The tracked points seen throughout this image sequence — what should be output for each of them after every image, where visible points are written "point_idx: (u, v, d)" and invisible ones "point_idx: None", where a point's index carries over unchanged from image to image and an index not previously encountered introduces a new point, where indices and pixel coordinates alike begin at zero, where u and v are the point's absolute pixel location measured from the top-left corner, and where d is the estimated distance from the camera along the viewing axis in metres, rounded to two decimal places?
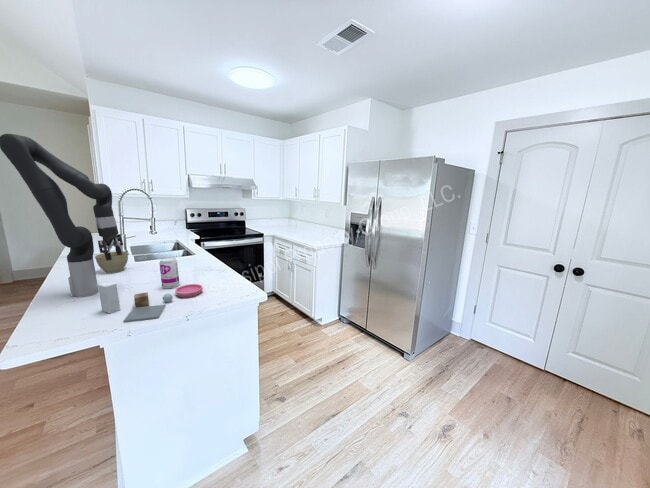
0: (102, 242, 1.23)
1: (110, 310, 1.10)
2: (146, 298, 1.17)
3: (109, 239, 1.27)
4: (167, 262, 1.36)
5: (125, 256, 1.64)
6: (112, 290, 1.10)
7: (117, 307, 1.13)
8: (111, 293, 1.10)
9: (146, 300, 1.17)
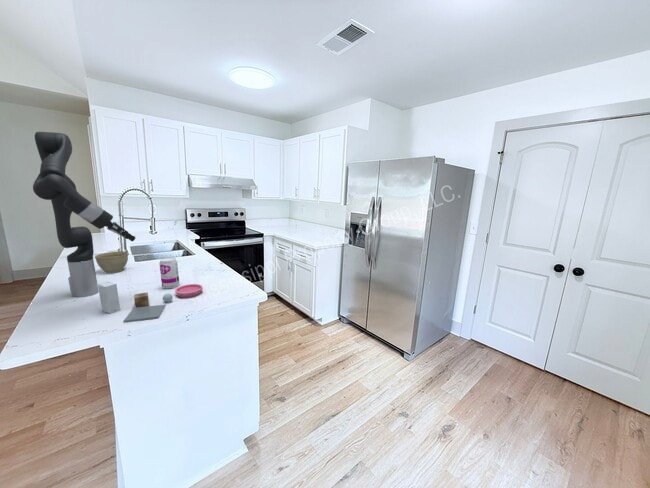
0: None
1: (110, 310, 1.10)
2: (146, 298, 1.17)
3: (107, 226, 1.17)
4: (167, 262, 1.36)
5: (125, 256, 1.64)
6: (112, 290, 1.10)
7: (117, 307, 1.13)
8: (111, 293, 1.10)
9: (146, 300, 1.17)
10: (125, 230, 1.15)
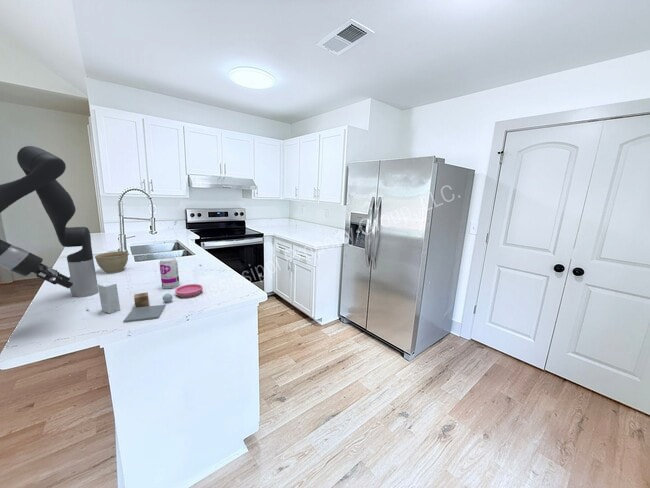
0: None
1: (110, 310, 1.10)
2: (146, 298, 1.17)
3: None
4: (167, 262, 1.36)
5: (125, 256, 1.64)
6: (112, 290, 1.10)
7: (117, 307, 1.13)
8: (111, 293, 1.10)
9: (146, 300, 1.17)
10: (56, 277, 0.94)
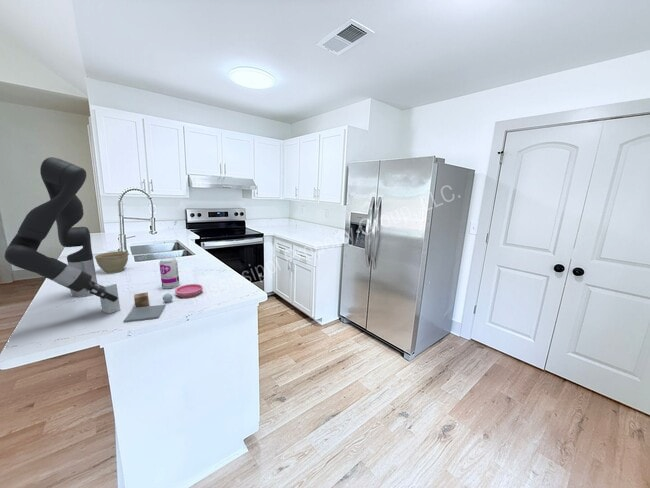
0: None
1: (110, 310, 1.10)
2: (146, 298, 1.17)
3: None
4: (167, 262, 1.36)
5: (125, 256, 1.64)
6: (112, 290, 1.10)
7: (117, 307, 1.13)
8: (111, 293, 1.10)
9: (146, 300, 1.17)
10: (106, 292, 1.06)
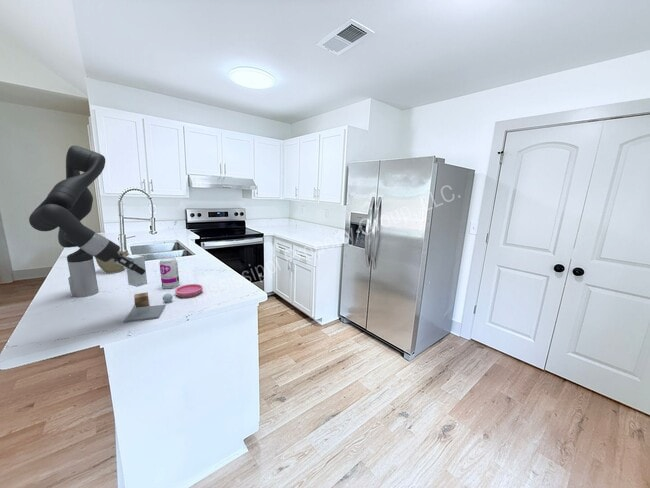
0: None
1: (137, 283, 1.05)
2: (146, 298, 1.17)
3: None
4: (167, 262, 1.36)
5: None
6: (140, 262, 1.05)
7: (144, 281, 1.07)
8: (139, 266, 1.05)
9: (146, 300, 1.17)
10: (134, 264, 1.00)
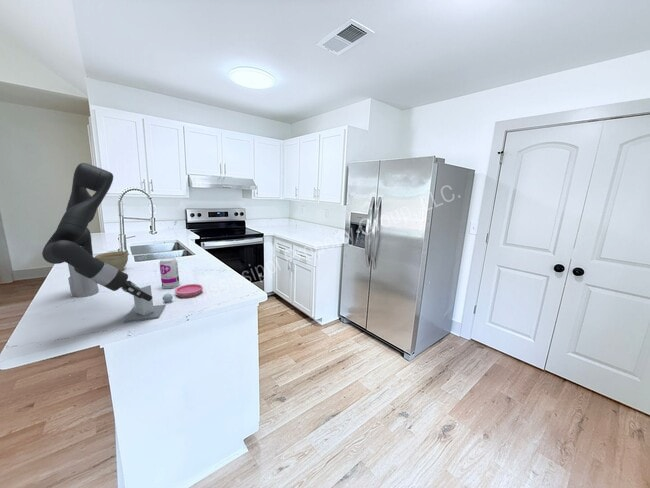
0: None
1: (144, 312, 1.07)
2: None
3: None
4: (167, 262, 1.36)
5: (125, 256, 1.64)
6: (147, 291, 1.08)
7: (151, 309, 1.10)
8: None
9: None
10: (142, 291, 1.02)
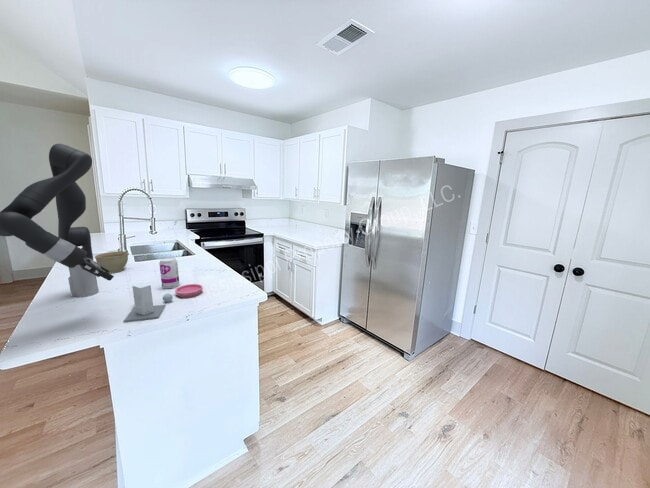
0: None
1: (144, 312, 1.07)
2: None
3: None
4: (167, 262, 1.36)
5: (125, 256, 1.64)
6: (147, 291, 1.08)
7: (151, 309, 1.10)
8: (146, 295, 1.07)
9: None
10: (100, 270, 0.99)
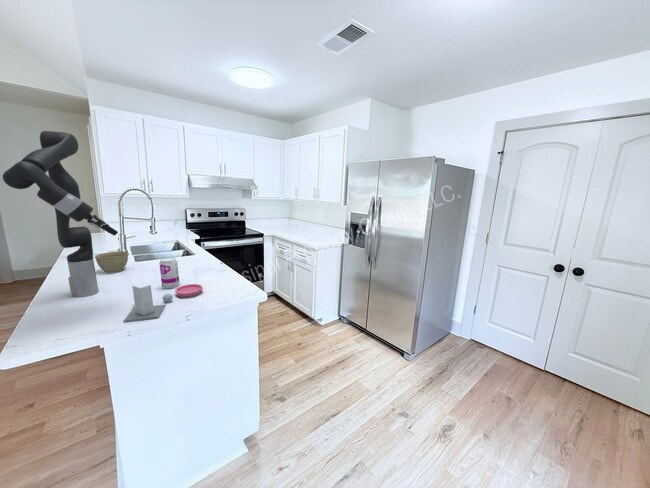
0: None
1: (144, 312, 1.07)
2: None
3: (87, 219, 1.09)
4: (167, 262, 1.36)
5: (125, 256, 1.64)
6: (147, 291, 1.08)
7: (151, 309, 1.10)
8: (146, 295, 1.07)
9: None
10: None
